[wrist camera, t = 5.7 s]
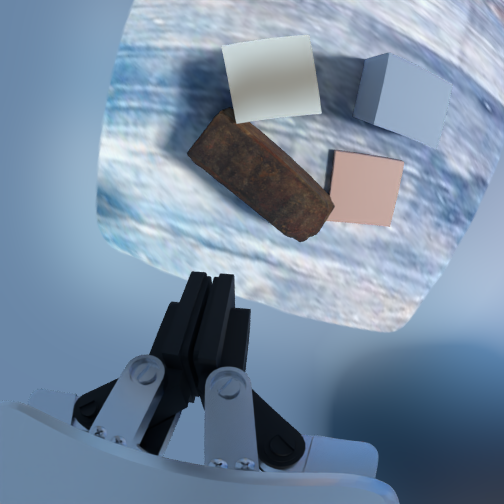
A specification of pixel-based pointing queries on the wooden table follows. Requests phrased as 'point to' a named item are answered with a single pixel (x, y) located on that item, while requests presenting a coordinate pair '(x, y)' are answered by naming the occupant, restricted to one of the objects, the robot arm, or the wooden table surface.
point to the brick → (262, 176)
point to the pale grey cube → (272, 78)
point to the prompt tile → (364, 188)
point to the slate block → (403, 98)
